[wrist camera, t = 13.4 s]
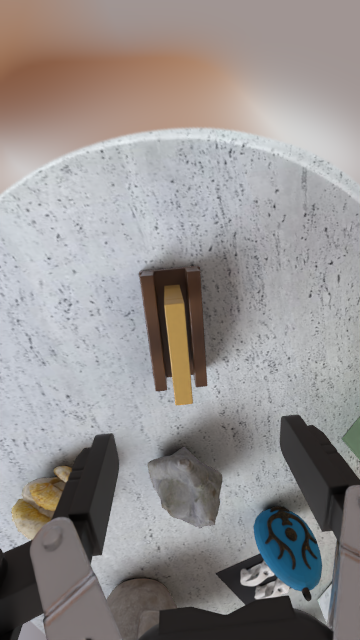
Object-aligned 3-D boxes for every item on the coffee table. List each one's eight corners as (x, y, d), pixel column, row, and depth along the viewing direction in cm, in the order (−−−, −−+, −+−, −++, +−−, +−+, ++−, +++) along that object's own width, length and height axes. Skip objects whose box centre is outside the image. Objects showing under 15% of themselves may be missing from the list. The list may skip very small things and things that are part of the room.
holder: (139, 270, 26) (136, 276, 23) (198, 265, 26) (203, 270, 23) (154, 374, 30) (152, 392, 27) (205, 368, 30) (210, 385, 27)
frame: (164, 285, 26) (164, 304, 19) (179, 284, 26) (184, 302, 19) (173, 365, 28) (175, 406, 22) (186, 364, 29) (192, 403, 22)
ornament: (304, 498, 38) (350, 586, 29) (296, 520, 40) (338, 610, 30) (250, 498, 37) (278, 588, 28) (244, 520, 39) (270, 612, 29)
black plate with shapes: (290, 581, 45) (294, 594, 43) (257, 595, 46) (261, 608, 44) (269, 556, 42) (274, 569, 41) (236, 571, 43) (238, 584, 41)
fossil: (137, 436, 33) (128, 497, 25) (205, 417, 32) (218, 474, 25) (163, 495, 36) (162, 564, 29) (224, 479, 36) (241, 545, 28)
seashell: (-37, 548, 29) (60, 495, 26) (-7, 491, 34) (76, 442, 31) (34, 572, 33) (124, 529, 30) (50, 519, 39) (128, 478, 36)
